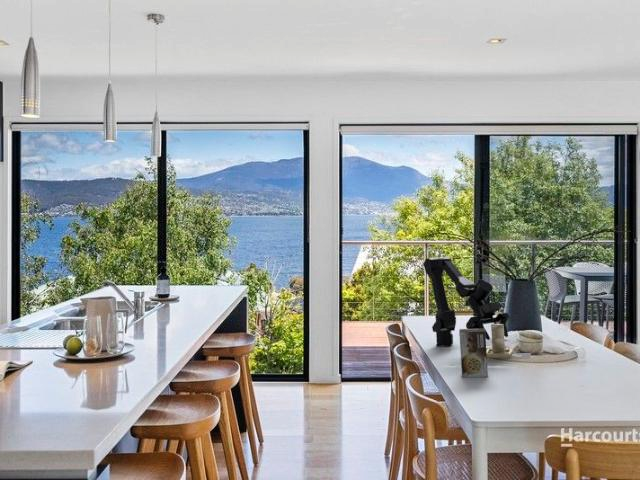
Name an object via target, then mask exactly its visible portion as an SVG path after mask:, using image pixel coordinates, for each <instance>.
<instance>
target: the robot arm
mask: <svg viewBox="0 0 640 480" xmlns="http://www.w3.org/2000/svg"><path fill="white" fill-rule="evenodd" d="M452 261H453V260H452V259H451V257H427V258H425V259H424V262H423V267H424V271H425V273H426V274H427V276H428V277H429V278H430V280H431V285H432V288H433V289H432V290H433V294H434V299H435V303H436V307H437V309H436V310H437V311H436V313H435V322H434V323H433V324H432V327H431V330H432V332H433V333H436V334H435V335H436V336H435V337H436V344H435V346H436V347H451V346H452V345H453V344H454V334H453V333H452V331H453V332H454V331H455V329H456V325H457V316H456V312H455V310H453V309H451V308H450V307H449V302H448V298H447V294H446V289H445V285H444V280H443V275H444V274H443V273H446V274H447V276H448V277H449V279H451V281H452V282H453V283H454V285H455V291H456V293H457V294H458V295H459V297H460V298H467V299H466V300H465V303H464V307H469V308H470V309H471V310H472V312H473V313H472V316H471V317H470V318H469V319H468V320H467V322H466V323H465V327H466V328H465V329H482V328H484V329H485V335H486V341H490V340H491V337H490V335H489V333H488V331H487V329H486V328H485V327H484V325H488V324H504V336H505V337H506V338H508V337H509V333H508V328H507V322H508V321H509V319H510V318H511V317H510V315H509V313H508V312H499V313H498V314H497V315H496V312H497V311H500V310H501V309H502V306H503V305H502V304H501V302H500V301H499V300H495V301H493V302H489V303H486V304H485V302H484V301H486V300H487V299H488V297H489V296H490V294H491V293H492V292H493V289H494V287H493V285H492V284H491V283H489V281H488V282H487V281H485V280H484V279H483V278H482V279H479V280H478V281H477V283H475V282H473V281H472V280H471V279H468V278H466V276H464V275H463V274H462V272H461V271H460V270H459V268H458V267H456V265H455V263H453V262H452ZM495 315H496V316H495ZM494 316H495V317H494Z"/></svg>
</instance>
